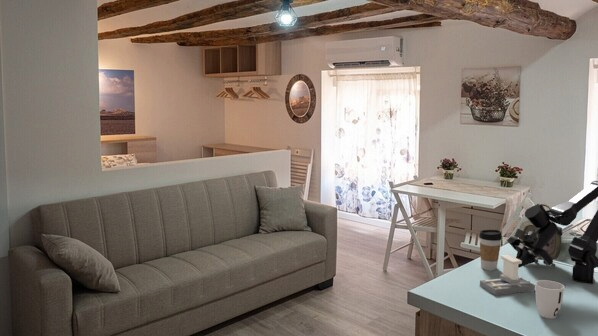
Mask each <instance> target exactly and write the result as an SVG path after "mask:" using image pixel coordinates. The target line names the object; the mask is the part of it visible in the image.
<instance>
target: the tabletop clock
mask: <svg viewBox="0 0 598 336" xmlns="http://www.w3.org/2000/svg"><path fill="white" fill-rule="evenodd" d="M540 204H541V205H542V206H543V207H546V208H547V209H548V210H550V209H551V207H550V206H549V205H547V204H543V203H540ZM536 205H537V204H535V205H533V206H536ZM519 229H521V230H523V231H526V232H530V231H533V232H535V231H536V230H537V229H538V228H536V227H534V226H533V225H532V224H531V222H530V221H529V220H528V219H526V220H524V221H521V223H520V227H519ZM521 240H522V239H520V241H521ZM521 242H522V241H521ZM522 243H523V242H522ZM548 243H549V244H550V245H549V246H548V247H547V246H545V247H544V248H543V250H546V251H547V252H548V253H549V255H550V256H551V257H552V258H553V260H557V259H558V258H559V256H560V253H561V248H562V236H561V235H558V234H556V235H555V236H554V237H553V238H552V239H551V240H550V241H549V242H548ZM523 244H524V243H523ZM537 261H538V262H534V263H535V264H538V263H539V261H543V259H542V258H538V259H537ZM550 266H551V268H555V267H556V264H555V263H554V262H553V263H552V264H551V265H550Z"/></svg>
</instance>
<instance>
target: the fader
mask: <svg viewBox="0 0 598 336" xmlns="http://www.w3.org/2000/svg"><path fill="white" fill-rule="evenodd" d="M500 260H503V264H502V265H503V266H502V274H501V273H500V274H499V278H501V279H503V280H505V281H506V282H508V283H510V284H512V283H520V279H519V278H518V276H519V268H518V265H519V264H522V261H521V260H519V259H517V258H516V256H515V257H514V256H513V255H511V254H507V255H506V254H505V255H504V254H503V255H500Z"/></svg>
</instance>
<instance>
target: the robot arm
mask: <svg viewBox="0 0 598 336" xmlns="http://www.w3.org/2000/svg"><path fill="white" fill-rule="evenodd" d="M597 198H598V180H593V181H591V182H590V184H589V185H587V186H586V187H585V188H584V189H582V190H581V191H580V192H578V193H577V194H576V195H574V196H573V197H572V198H571V199H569V200H568V201H566V202H562V203H558V204H556V205H554V206H553V207H550V210H549V209H548V210H546V209H545V206H542V205H541V204H542V203H537V204H535V205H536V206H534V205H533V206H531V207H529V208H527V209H525V212H524V217H525V218H526V220H529V221H530V222H531V224H532V225H533V226H534V227H536V228H538V229H537V230H536V231H535V232H533V231H530V232H526V231H523V230H521V229H520V228H517V229H516V230H515V233H514V235H513V236H510V237H509V238H508V239H507V240H506V241H507V243H508V244H509V245H510V247H512V248H513V250H515V251H516V256H515V258H517V259H519V260H521V261H522V264H519V265H518V269H519V268H522V267H525V266H527V265H530V264H533V263H535V262H538V263H539V260H538V261H537V259H538V258H542V259H543V260H542V261H543V262H542V263H543V264H544V265H546V266H548V267H550V266H551V264H552V263H554V259H553V258H552V257H551V256H550V255H549V253H548V252H547V251H546V250H543V248H544V247H545V246H547V247H548V246H549V245H550V244H549V243H548V242H549V241H550V240H551V239H552V238H553V237H554V236H555V235H556V234H558V235H561V237H562V236H563V228H562V227H560V226H565V227H567V226H570V224H571V223H573V221H574V220H575V219H577V215H578V214H579V212H580V211H581V210H582V209H584V208H585V207H587V206H588V205H590V203H592V202H594V201H595V200H597ZM557 224H558V225H557ZM559 225H560V226H559ZM520 239H522V240H521V241H522V242H523V243H524V244H523V243H522V242H521V241H520ZM597 242H598V209H597V210H596V211H595V213H594V215H593V217H592V219H591V220H590V221H589V224H588V225H587V227H586V229H585V231H584V232H583V234H582V235H581V236H579V237H577V236H573V238H572V240H571V242H570V243H569V244H568V246H569V247H568V254H569V257H570V261H572V262H574V264H573V266H572V275H571V277H572V279H573V281H574V282H582V283H585V284H586V283H588V284H594V280H595V277H594V276H595V269H596V268H598V257H597V254H596V253H597V251H598V245H597Z"/></svg>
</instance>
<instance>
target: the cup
mask: <svg viewBox="0 0 598 336" xmlns="http://www.w3.org/2000/svg"><path fill="white" fill-rule="evenodd" d="M534 285H535V301H536V308H537V312H538V314H539V316H540V317H542V318H546V319H556V318H557V317H558V315H559V312H560V310H561V306H562V302H563V298H564V293H565V292H564V291H565V285H564V284H562V283H560V282H558V281H554V280H547V279H540V280H537V281H535V284H534Z"/></svg>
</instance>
